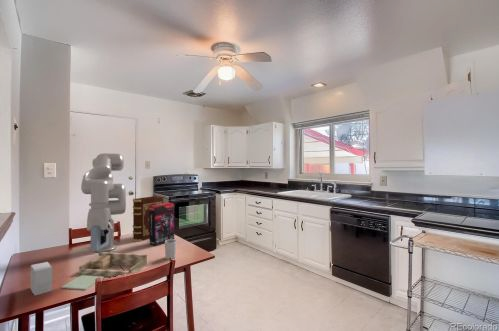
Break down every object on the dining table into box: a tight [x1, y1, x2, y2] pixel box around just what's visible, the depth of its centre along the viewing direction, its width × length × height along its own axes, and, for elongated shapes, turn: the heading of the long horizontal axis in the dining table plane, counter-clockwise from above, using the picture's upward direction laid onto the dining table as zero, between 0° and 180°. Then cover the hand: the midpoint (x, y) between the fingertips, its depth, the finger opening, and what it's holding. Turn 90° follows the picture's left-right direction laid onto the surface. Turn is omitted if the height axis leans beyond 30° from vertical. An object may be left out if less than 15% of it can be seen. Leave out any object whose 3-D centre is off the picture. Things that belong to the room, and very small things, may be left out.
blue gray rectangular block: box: [90, 226, 109, 251], centre depth 126 cm, size 3×9×11 cm, turn 175°
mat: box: [61, 274, 105, 291], centre depth 121 cm, size 12×12×1 cm
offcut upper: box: [90, 255, 110, 267], centre depth 136 cm, size 6×8×3 cm
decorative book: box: [132, 195, 164, 242], centre depth 193 cm, size 22×8×30 cm, turn 148°
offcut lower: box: [88, 261, 113, 270], centre depth 136 cm, size 7×9×3 cm
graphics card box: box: [149, 202, 175, 247], centre depth 181 cm, size 17×7×27 cm, turn 147°
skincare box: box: [29, 261, 53, 296], centre depth 114 cm, size 10×6×10 cm, turn 48°
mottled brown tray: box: [78, 251, 148, 277], centre depth 135 cm, size 28×15×6 cm, turn 83°
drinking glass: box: [164, 238, 177, 260], centre depth 153 cm, size 7×7×10 cm
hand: (99, 242), depth 126 cm, fingers closed on blue gray rectangular block, 3 cm apart
